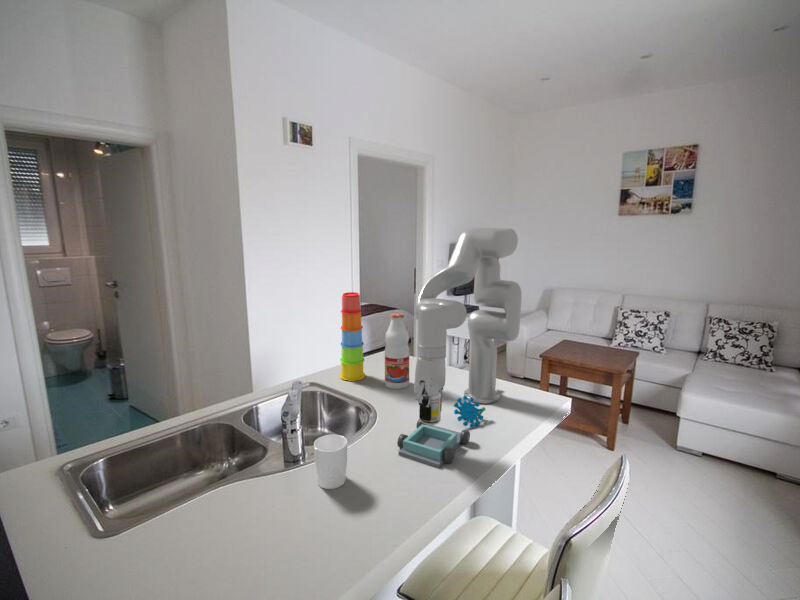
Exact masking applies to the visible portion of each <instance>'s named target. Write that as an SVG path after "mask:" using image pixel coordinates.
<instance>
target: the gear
mask: <svg viewBox="0 0 800 600" xmlns="http://www.w3.org/2000/svg"><path fill="white" fill-rule="evenodd" d="M467 400H468V399H467V396H464V395H463V396H462V397H458V398H457V399H456V401H457V402H455V403H454V404H453V407H455V409H454V410H453V414H454V415H459V416H457V418H456V419H457V421H458V422H461V421H462V420H465V421H463V422H462V425H463V426H464V427H467V426H469V427H470V428H472V427H473V428H474V427H476V426H479V425H481V421H482V420H483V419H484V415H482V414H483V413H484V412H485V411H486V408H485V407H481V408H477V407H480V404H481V403H479V402H473V401H474V399H473V398H472V397H471V398H470V399H469V400H468V402H467ZM462 401H463V402H462ZM469 422H471V423H470V424H469Z"/></svg>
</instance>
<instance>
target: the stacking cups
mask: <svg viewBox="0 0 800 600" xmlns="http://www.w3.org/2000/svg"><path fill="white" fill-rule="evenodd" d="M340 313H341V327H340V329H341V342H340V346H341V357H340V360H339V361H340V363H341V367H340V368H341V369H340V370H341V371H340V372H341V373H340V374H339V377H340V379H341V380H344V381H346V380H348V381H347V382H356V380H357V381H361V380H363V379H364V378H365V377H366V374H365V372H364V362H365V360H366V359H365V358H364V355H363V352H364V349H363V346H364V344H365V343H364V341H363V330H362V329H363V325H362V314H361V313H362V309H361V295H360V294H359V292H353V291H352V292H350V291H349V292H344V293H342V295H341V311H340Z"/></svg>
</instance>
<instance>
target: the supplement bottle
mask: <svg viewBox="0 0 800 600" xmlns="http://www.w3.org/2000/svg"><path fill="white" fill-rule="evenodd" d="M424 394H427V392H424ZM441 398H442V397H441V393H440V392H439V391H438V392H437V393H435V394H434V395H432V396H431V402H430V406H431V420H430V421H426V420H422V419H420V418H419V419H420V420H421V422H422V423H423V424H426V425H434V426H437V425H438V424H440V422H441V412H442V408H441ZM423 399H425V400H426V401H427V397H423Z"/></svg>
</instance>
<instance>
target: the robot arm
mask: <svg viewBox="0 0 800 600" xmlns="http://www.w3.org/2000/svg"><path fill="white" fill-rule="evenodd" d="M518 241H519V240H518V234H517V232H516V231H515V230H514V229H513V228H511V227H510V228H507V227H501V228H500V227H475V228H470V229H467V230H464V231H462V232H461V233H460V235H459V236H458V238H457V240H456V243H455V246H454V248H453V251H452V253H451V256H450V258H449V262H448V263H447V266H446V267H445V268H442V269H441V270H439V272H437V273H435V274H434V275H433V276H432V277H431V278H429V279H428V281H426V282H425V284H424V285H423V287H422V288H421V290H420V294H419V295H418V298H417V300H416V303H415V308H414V317H415V319H416V320H417V358H416V359H417V360H416V364H415V371H414V385H413V386H414V387H413V390H414V394H416V395H415V401H417V403H418V407H419V410H418V411H419V414H418V415H419V416H418V417H419V418H418V419H422V420H426V421H430V420H431V406H430V402H431V396H432V395H434V394H435V393H437V392H438V391H439V392H440V393H441V409H442V404H443V401H442V400H443V399H442V398H443V395H444V394H443V390H444V387H445V385H446V358H447V333H448V332H447V330H449V329H450V330H452V329H457V328H459V327H461V326H462V325H463V324H464V323H465V321H466V319H467V313H468V312H467V308H466V305H464V303H462V302H461V301H458V300H453V299H451V300H450V299H443V298H437V297H438V296H439V295H441V294H442V293H443V292H446V291H448V290H451V289H454V288H457V287H460V286H463V285H466V284H468V283H470V282H472V281H473V280H474V281H473V282H474V283H473V284H474V285H473V301H474V303H475V304H476V305H478V306H481V307H486V308H495V309H496V308H497V309H503V312H502V311H495V310H494V311H493V310H486V309H477V310H474V311H472V312H471V313H470V314H469V315H468V319H467V328H468V335H469V358H468V359H469V362H468V364H469V365H468V388H466V389H465V390H464V391H463V396H467V399H466V400H468V401H469V399H470V398H471V397H472V398H473V399H474V401H473V402H472V403H476V402H479V404H486V405H487V404H493V403H496V402H498V401H499V400H500V393H499V392H498V391H497V390H496V387H497V385H496V384H497V365H498V364H497V363H498V361H497V360H498V359H497V358H498V349H497V345H496V344H495V341H494V340H497V341H503V342H513V341H516V340H517V339H518V337H519V334H520V327H521V326H520V325H521V313H522V289H521V286H520V284H519V283H518V282H516V281H513V280H501V264H500V261H499V259H504V258H507V257H508V256H511V255H512V254H514V253H515V251H516V250H517V247H518V244H519V243H518ZM424 392H427V394H424ZM423 397H427V401H426V400H425V399H423Z"/></svg>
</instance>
